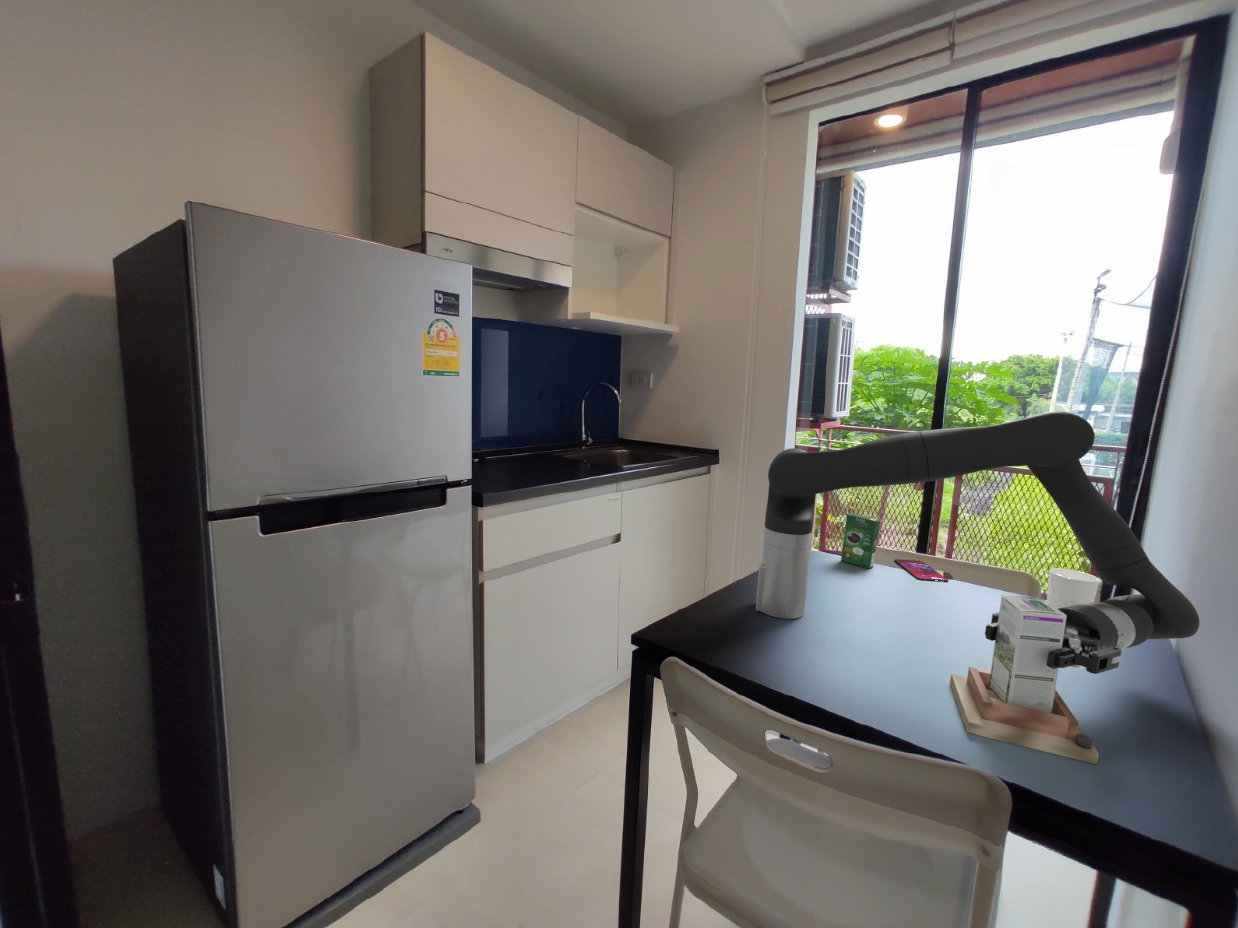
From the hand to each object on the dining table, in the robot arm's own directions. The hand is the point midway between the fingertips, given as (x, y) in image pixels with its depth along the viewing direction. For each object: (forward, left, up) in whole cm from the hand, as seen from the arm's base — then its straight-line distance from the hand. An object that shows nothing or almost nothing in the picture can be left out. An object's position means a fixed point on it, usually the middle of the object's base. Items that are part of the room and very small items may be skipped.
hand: (1018, 646), depth 75 cm
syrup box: (+1, +2, -9) cm, 9 cm away
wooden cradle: (+1, +1, -11) cm, 11 cm away
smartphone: (-4, +69, -12) cm, 71 cm away
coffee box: (-19, +66, -11) cm, 70 cm away
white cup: (+21, +49, -11) cm, 55 cm away
